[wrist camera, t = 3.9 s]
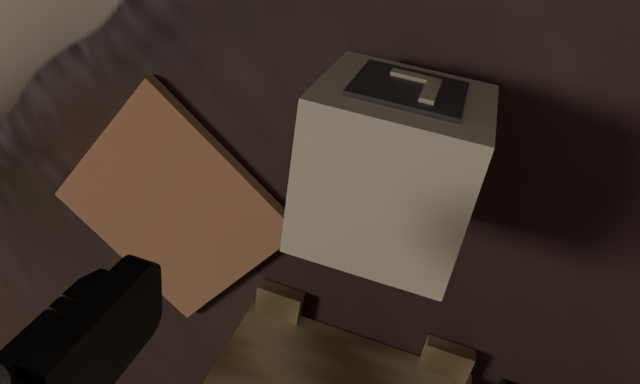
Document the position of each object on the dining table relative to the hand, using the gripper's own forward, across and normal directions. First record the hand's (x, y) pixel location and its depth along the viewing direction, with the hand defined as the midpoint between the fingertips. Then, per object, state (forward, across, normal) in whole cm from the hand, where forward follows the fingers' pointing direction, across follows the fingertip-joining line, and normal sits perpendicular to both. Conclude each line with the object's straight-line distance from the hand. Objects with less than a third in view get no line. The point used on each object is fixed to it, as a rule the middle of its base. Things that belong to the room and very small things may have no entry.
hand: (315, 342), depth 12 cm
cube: (+12, 0, 0) cm, 13 cm away
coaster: (+12, +11, +7) cm, 18 cm away
